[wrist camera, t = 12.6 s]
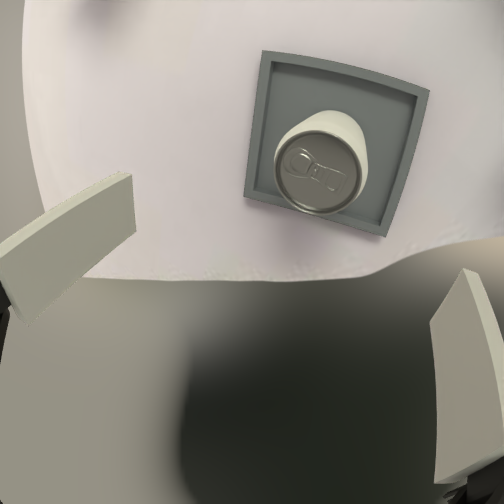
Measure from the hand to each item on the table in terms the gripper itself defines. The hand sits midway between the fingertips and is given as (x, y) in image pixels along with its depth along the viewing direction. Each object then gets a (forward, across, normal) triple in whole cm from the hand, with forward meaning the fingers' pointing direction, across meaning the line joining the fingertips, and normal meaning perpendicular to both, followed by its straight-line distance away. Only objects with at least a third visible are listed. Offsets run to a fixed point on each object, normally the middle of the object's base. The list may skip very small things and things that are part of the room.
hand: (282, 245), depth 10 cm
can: (+21, 0, 0) cm, 21 cm away
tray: (+22, 0, 0) cm, 22 cm away
